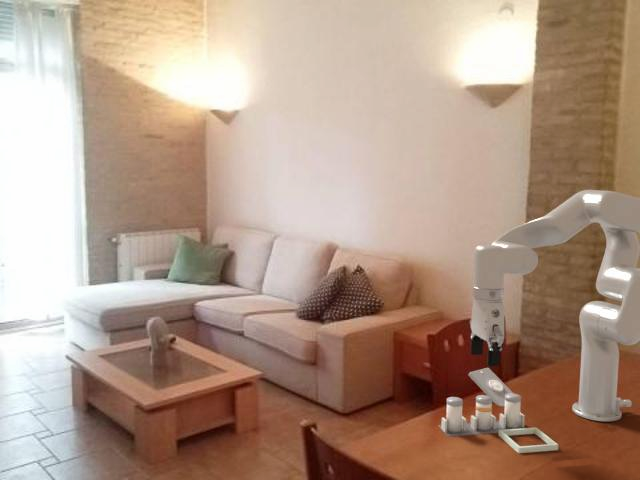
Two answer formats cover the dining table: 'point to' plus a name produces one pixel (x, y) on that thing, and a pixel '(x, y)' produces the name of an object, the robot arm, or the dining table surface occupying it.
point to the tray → (525, 449)
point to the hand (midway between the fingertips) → (484, 359)
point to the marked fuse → (483, 412)
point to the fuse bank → (460, 427)
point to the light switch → (490, 385)
